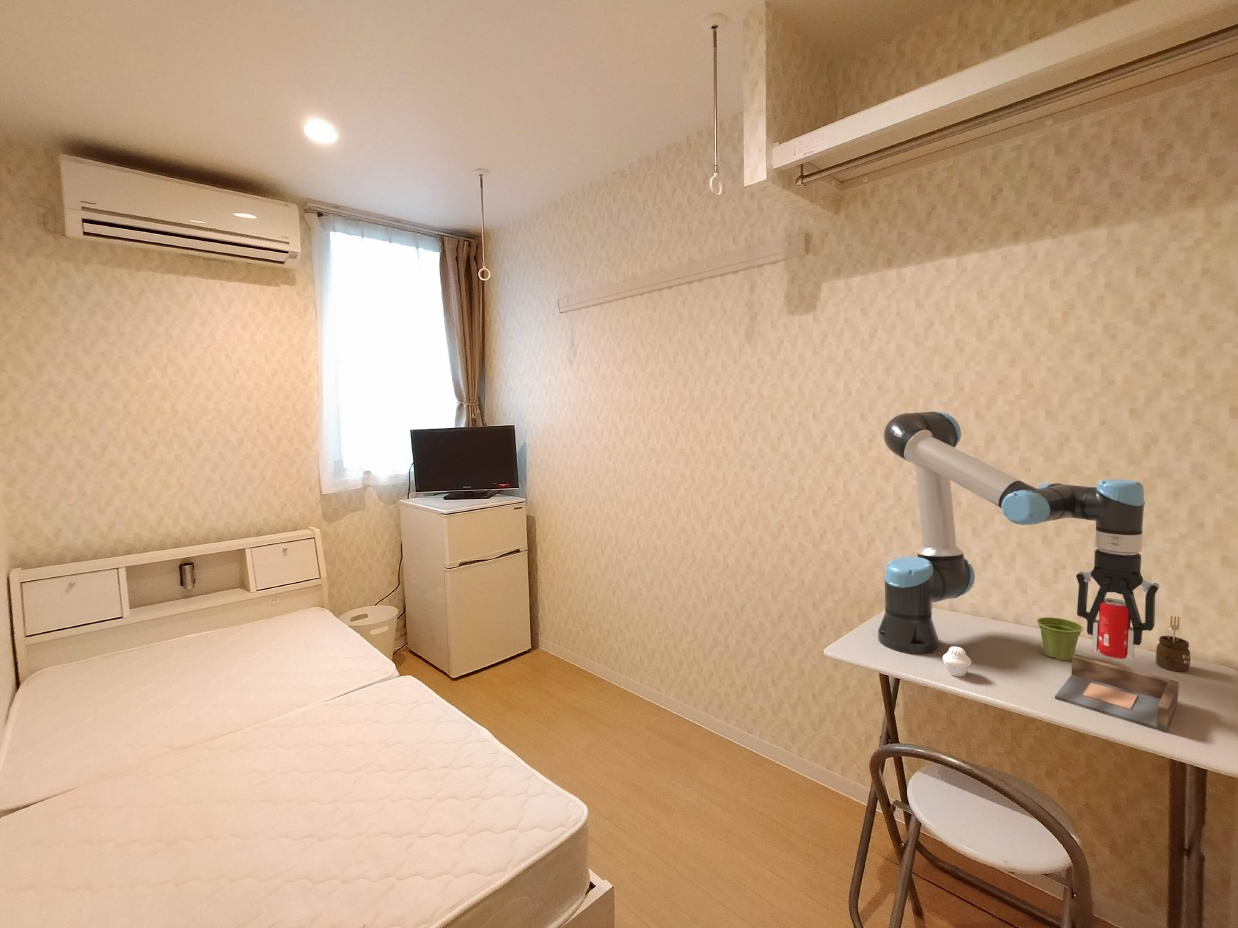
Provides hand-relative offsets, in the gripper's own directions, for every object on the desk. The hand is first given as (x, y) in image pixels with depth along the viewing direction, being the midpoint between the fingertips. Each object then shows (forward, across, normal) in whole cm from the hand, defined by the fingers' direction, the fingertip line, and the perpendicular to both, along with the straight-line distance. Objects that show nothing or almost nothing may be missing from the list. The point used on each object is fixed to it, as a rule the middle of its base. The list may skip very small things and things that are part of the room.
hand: (1112, 653), depth 122 cm
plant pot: (+11, -13, +18) cm, 24 cm away
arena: (+11, +1, 0) cm, 11 cm away
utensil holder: (+11, +7, +30) cm, 32 cm away
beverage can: (0, 0, 0) cm, 0 cm away
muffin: (+11, -27, -12) cm, 31 cm away
